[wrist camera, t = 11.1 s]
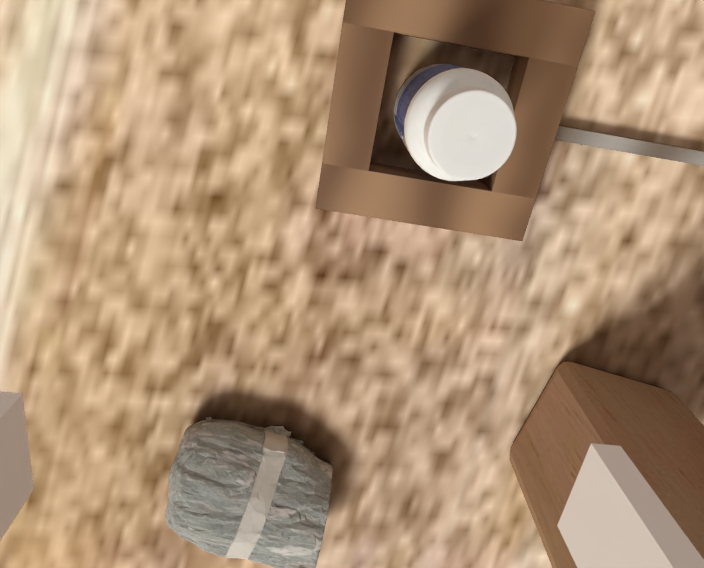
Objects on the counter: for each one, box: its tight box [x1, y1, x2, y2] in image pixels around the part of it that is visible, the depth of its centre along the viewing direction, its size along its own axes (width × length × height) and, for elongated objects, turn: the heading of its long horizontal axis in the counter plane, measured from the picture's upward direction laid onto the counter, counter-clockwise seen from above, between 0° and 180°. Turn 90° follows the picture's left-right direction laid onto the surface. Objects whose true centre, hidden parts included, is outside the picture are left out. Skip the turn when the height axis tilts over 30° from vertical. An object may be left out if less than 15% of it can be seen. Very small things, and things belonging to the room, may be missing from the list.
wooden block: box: [510, 362, 704, 568], centre depth 34 cm, size 10×10×20 cm
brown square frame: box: [316, 0, 704, 241], centre depth 32 cm, size 27×13×2 cm, turn 80°
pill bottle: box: [394, 63, 517, 181], centre depth 28 cm, size 5×5×10 cm
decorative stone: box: [166, 417, 333, 568], centre depth 42 cm, size 13×10×6 cm
